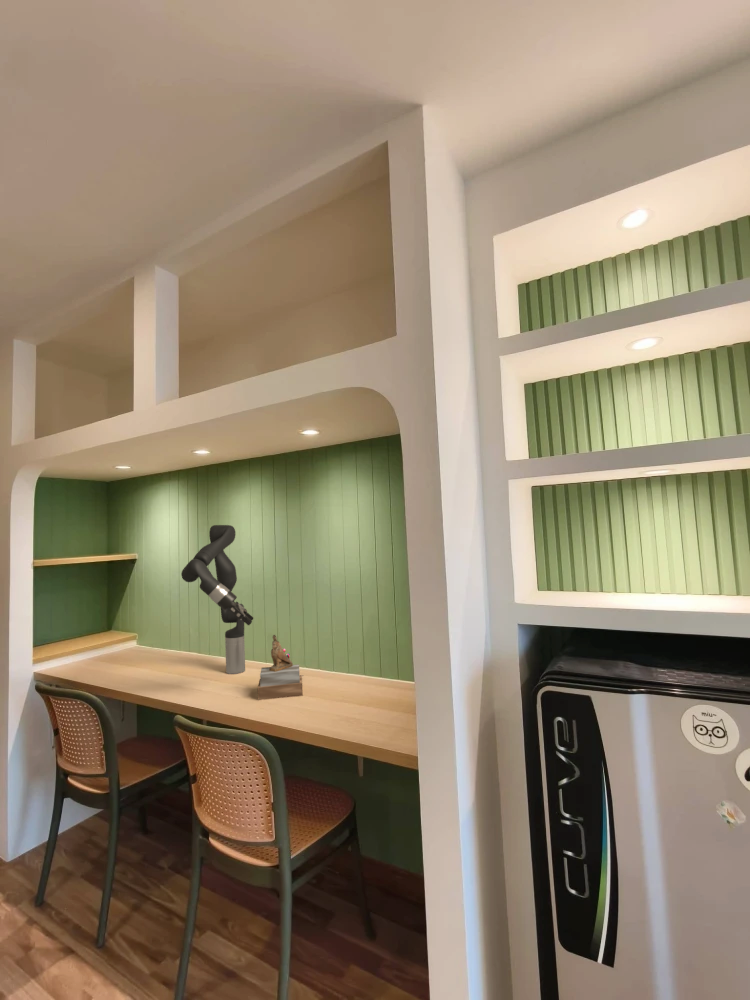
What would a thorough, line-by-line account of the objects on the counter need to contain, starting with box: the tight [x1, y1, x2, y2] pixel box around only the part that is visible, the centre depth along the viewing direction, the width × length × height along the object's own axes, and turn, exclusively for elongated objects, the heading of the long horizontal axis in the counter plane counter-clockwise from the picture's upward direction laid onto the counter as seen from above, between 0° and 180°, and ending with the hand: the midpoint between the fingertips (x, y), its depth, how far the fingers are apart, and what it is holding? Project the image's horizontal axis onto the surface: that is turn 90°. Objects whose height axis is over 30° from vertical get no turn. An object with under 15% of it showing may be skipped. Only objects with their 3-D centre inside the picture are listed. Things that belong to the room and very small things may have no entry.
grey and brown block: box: [257, 664, 304, 701], centre depth 207 cm, size 12×18×10 cm, turn 100°
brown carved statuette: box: [269, 634, 294, 672], centre depth 209 cm, size 11×5×16 cm, turn 139°
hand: (251, 621), depth 208 cm, fingers open, 8 cm apart
